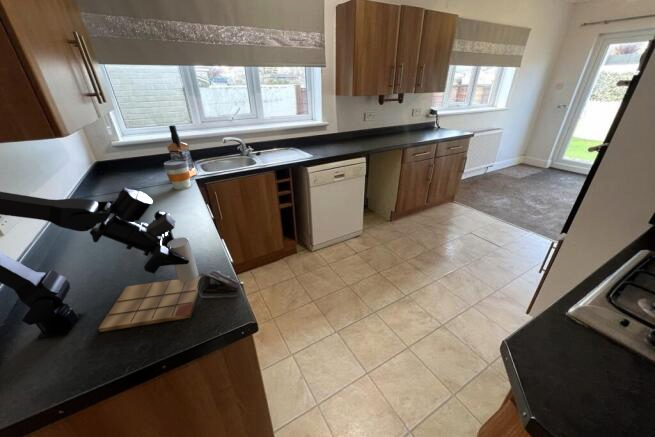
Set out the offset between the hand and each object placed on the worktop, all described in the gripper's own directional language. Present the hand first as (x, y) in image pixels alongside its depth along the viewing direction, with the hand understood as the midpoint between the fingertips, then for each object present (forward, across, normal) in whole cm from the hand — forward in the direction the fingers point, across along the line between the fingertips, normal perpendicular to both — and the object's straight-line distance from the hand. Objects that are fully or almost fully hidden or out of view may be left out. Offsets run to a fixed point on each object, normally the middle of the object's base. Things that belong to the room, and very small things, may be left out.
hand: (188, 257), depth 78 cm
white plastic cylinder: (+4, 0, +6) cm, 7 cm away
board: (0, -2, +16) cm, 16 cm away
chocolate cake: (+13, -4, +3) cm, 14 cm away
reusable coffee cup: (+6, +99, +11) cm, 100 cm away
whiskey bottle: (+7, +121, +9) cm, 122 cm away
